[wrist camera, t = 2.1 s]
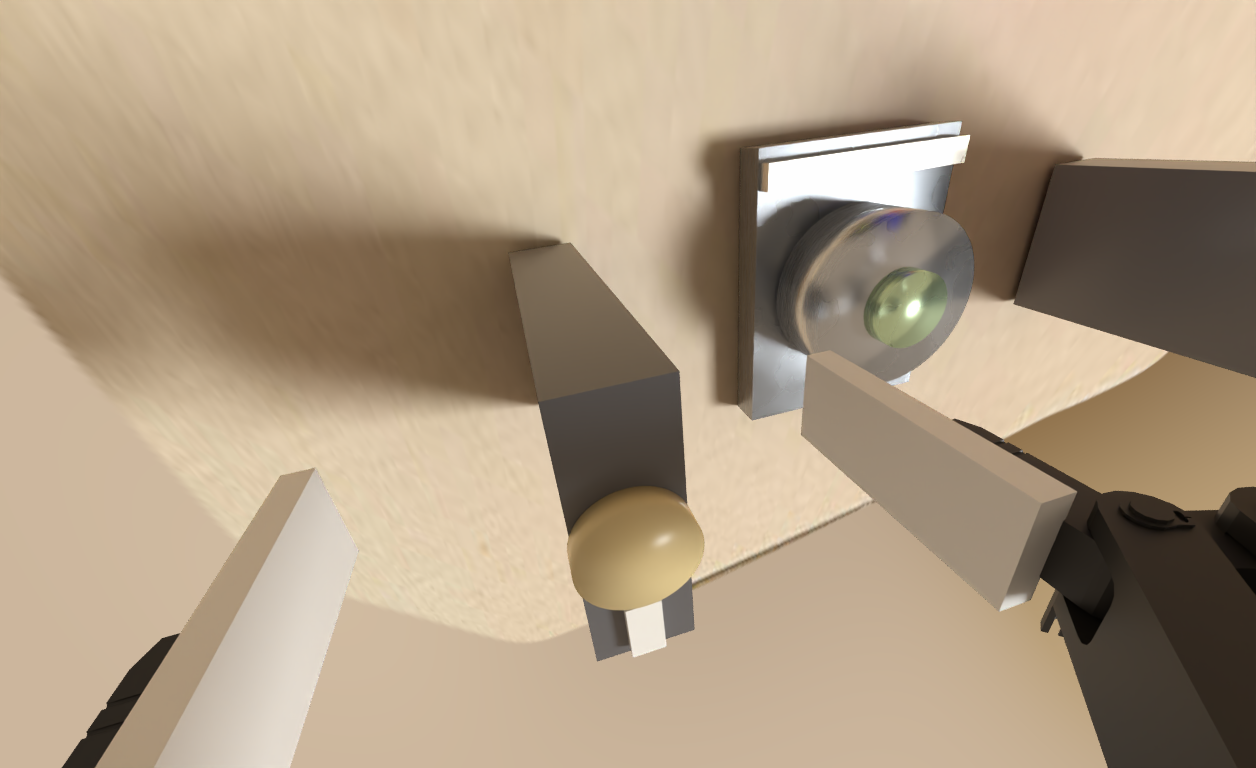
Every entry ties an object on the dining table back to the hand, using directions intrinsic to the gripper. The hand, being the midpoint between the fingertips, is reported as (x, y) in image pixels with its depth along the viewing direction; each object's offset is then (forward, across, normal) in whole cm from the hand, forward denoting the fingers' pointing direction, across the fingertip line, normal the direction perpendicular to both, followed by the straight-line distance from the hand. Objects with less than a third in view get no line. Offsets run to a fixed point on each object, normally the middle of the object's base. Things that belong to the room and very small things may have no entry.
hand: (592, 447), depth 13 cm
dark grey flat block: (+8, 0, 0) cm, 9 cm away
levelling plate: (+8, +13, 0) cm, 16 cm away
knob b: (+8, +26, 0) cm, 27 cm away
